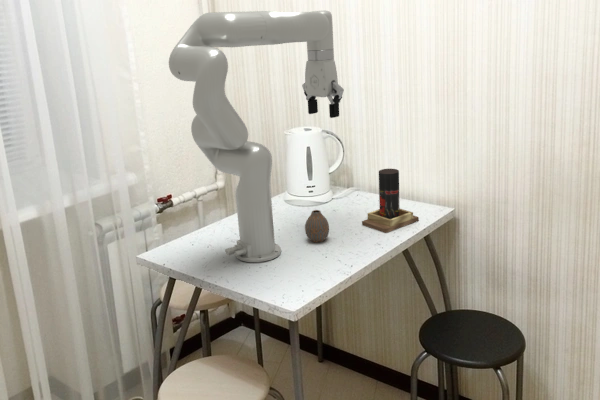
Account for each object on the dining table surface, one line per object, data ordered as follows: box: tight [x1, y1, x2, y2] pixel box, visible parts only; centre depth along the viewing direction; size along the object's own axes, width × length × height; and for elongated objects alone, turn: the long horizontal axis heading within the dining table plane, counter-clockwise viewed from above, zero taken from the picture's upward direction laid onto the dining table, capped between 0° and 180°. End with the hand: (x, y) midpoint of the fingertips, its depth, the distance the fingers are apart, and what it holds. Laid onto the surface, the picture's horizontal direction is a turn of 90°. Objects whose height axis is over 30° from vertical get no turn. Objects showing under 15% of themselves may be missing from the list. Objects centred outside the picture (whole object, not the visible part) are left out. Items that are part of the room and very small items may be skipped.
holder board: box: [361, 208, 420, 234], centre depth 199 cm, size 14×10×3 cm
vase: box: [304, 209, 330, 243], centre depth 189 cm, size 7×7×9 cm
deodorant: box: [378, 168, 401, 219], centre depth 197 cm, size 6×6×15 cm
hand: (323, 115), depth 193 cm, fingers open, 9 cm apart
